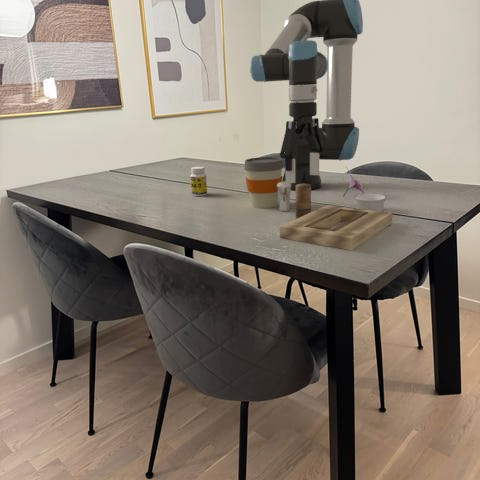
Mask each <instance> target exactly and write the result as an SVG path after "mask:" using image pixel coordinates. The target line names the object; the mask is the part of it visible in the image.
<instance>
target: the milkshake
mask: <svg viewBox="0 0 480 480" xmlns="http://www.w3.org/2000/svg"><path fill="white" fill-rule="evenodd" d="M277 193H278V211H280V212H288V211H290V208H291V207H290V203H291V193H292V190H291V184H290V183H288V182H279V183H278V184H277Z"/></svg>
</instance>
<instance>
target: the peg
mask: <svg viewBox="0 0 480 480" xmlns="http://www.w3.org/2000/svg"><path fill="white" fill-rule="evenodd" d="M311 212H312V189H311V185H310V184H297V185H296V190H295V219H298V218H300V217H302V216H304V215H306V214H308V213H311Z"/></svg>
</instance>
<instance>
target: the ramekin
mask: <svg viewBox="0 0 480 480" xmlns="http://www.w3.org/2000/svg"><path fill="white" fill-rule="evenodd" d="M385 200H386V196H385V195H383V194H377V193H364V194H363V193H362V194H358V195H356V196H355V204H356V207H355V208H356V209H363V210H372V211H380V212H384V208H385V202H386V201H385Z"/></svg>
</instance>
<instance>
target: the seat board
mask: <svg viewBox="0 0 480 480" xmlns="http://www.w3.org/2000/svg"><path fill="white" fill-rule="evenodd" d="M340 222H344V223H342V224H340V225H339V226H336V227H334V228H330V227H332V226H334V225H337V224H338V223H340ZM392 223H393V212H387V211H382V212H380V211H372V210H363V209H357V208H356V207H355V208H353V207H346V206H339V205H329V204H326V205H324V206H322V207H320V208H317V209H315V210H313V211H311V213H308V214H306V215H304V216H302V217H300V218H298V219H296V218H295V219H294V220H291V221H289V222H287V223H285V224H283V225H279V238H280V239H285V240H290V241H295V242H296V241H297V242H303V243H308V244H314V245H319V246H325V247H326V246H327V247H331V248H337V249H340V250H341V249H342V250H349V251H353V250H354V249H355V248H357V247H359V246H360V245H361V244H363V243H365V242H367V241H369V239H371V238H373V237H374V236H375V235H377V234H379V233H380V232H381V231H383V230H385V229H386V228H387V227H389V226H390V225H392Z"/></svg>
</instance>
